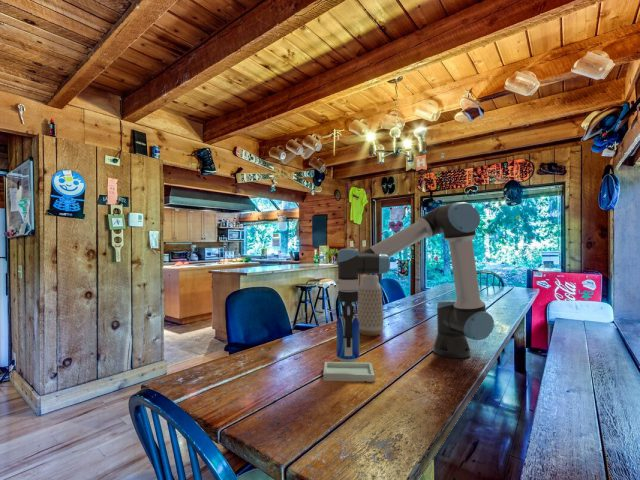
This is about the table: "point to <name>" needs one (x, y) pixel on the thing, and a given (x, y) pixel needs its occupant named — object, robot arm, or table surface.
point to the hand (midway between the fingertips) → (348, 351)
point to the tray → (348, 371)
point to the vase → (370, 306)
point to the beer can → (342, 340)
